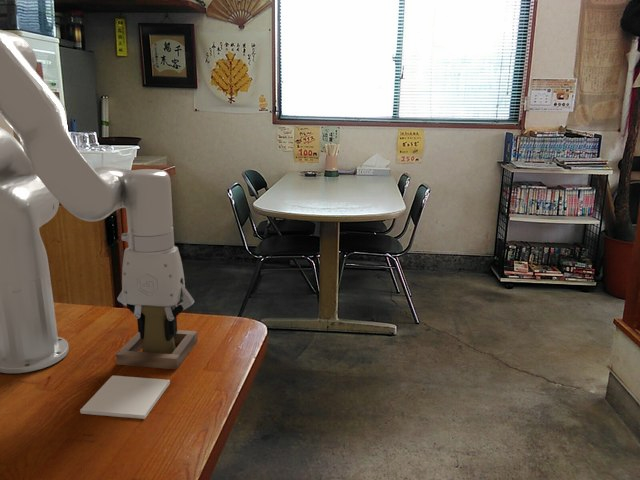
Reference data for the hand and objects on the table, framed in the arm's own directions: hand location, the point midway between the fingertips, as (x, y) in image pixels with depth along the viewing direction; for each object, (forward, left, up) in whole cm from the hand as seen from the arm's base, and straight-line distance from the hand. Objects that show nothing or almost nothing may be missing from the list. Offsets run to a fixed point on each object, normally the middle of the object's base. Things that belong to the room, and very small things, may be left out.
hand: (158, 335), depth 97 cm
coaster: (+1, -15, -3) cm, 15 cm away
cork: (0, 0, -3) cm, 3 cm away
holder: (0, 0, -3) cm, 3 cm away
